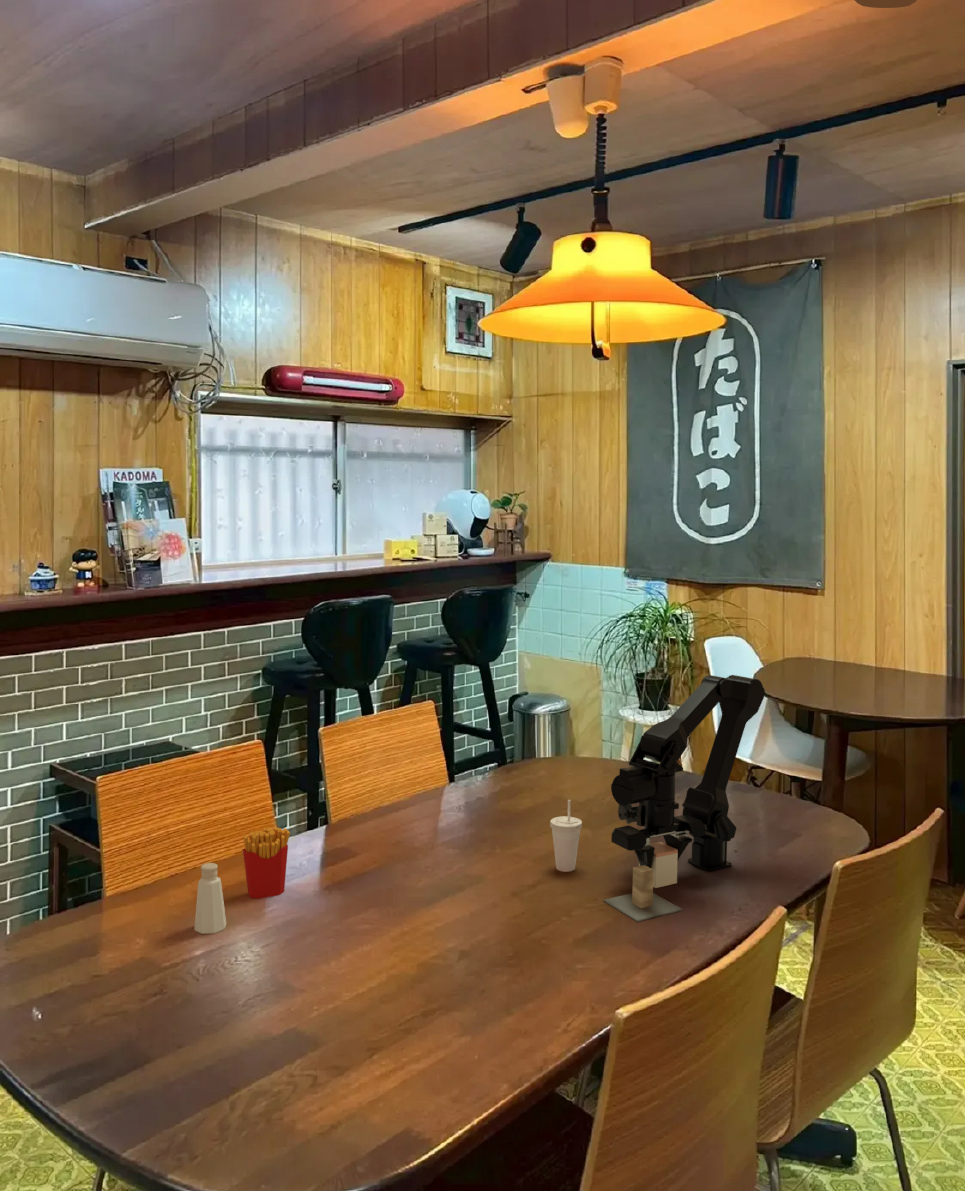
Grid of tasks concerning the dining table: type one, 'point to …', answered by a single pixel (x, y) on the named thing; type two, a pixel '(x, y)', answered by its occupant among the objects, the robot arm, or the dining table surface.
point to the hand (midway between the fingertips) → (657, 874)
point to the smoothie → (565, 840)
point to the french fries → (266, 861)
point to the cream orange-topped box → (664, 865)
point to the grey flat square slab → (642, 898)
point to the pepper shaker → (209, 902)
